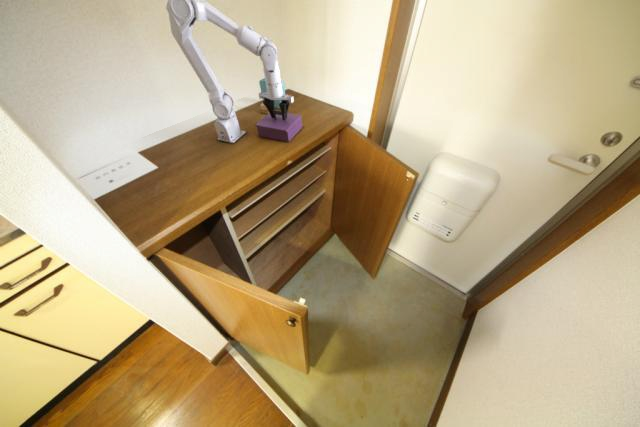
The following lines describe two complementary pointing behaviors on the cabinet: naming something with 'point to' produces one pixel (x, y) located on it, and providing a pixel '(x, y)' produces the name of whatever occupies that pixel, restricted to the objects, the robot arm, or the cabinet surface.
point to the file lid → (278, 121)
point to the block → (264, 109)
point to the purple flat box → (280, 132)
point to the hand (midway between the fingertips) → (279, 118)
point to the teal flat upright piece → (264, 89)
